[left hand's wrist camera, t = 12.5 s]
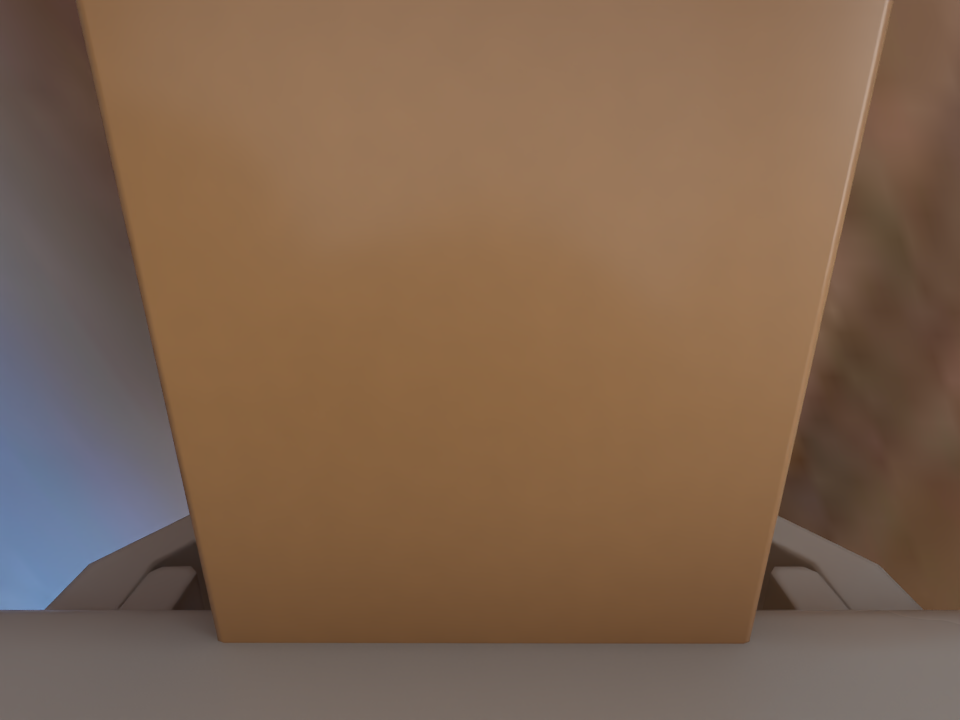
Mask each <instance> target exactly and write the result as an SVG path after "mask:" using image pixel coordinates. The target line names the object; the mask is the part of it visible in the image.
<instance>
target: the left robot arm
mask: <svg viewBox="0 0 960 720" xmlns="http://www.w3.org/2000/svg"><path fill="white" fill-rule="evenodd" d="M0 720H960V610H923V609H922V608H921V607H920V606H919V605H918V604H917V603H916V602H915V601H914V600H913V599H912V598H911V597H910V596H909V595H908V594H907V593H906V592H905V591H904V590H903V589H902V588H901V587H900V586H899V585H898V584H897V583H896V582H895V581H894V580H893V579H892V578H891V577H890V576H889V575H888V574H887V573H886V572H885V571H884V570H883V569H882V568H881V567H880V566H879V565H878V564H876V563H874V562H872V561H870V560H868V559H865V558H863V557H861V556H859V555H857V554H855V553H853V552H851V551H849V550H847V549H845V548H843V547H841V546H839V545H837V544H835V543H833V542H831V541H829V540H827V539H825V538H822V537H820V536H818V535H816V534H814V533H812V532H810V531H808V530H806V529H804V528H802V527H800V526H798V525H796V524H794V523H792V522H790V521H788V520H786V519H784V518H781V517H779V516H778V517H777V521H776V525H775V530H774V534H773V539H772V543H771V548H770V552H769V557H768V561H767V565H766V570H765V574H764V579H763V583H762V588H761V592H760V597H759V601H758V606H757V610H756V614H755V619H754V623H753V628H752V632H751V637H750V641H749V642H747V643H744V644H571V643H223V642H220V641H218V638H217V634H216V629H215V625H214V620H213V616H212V611H211V607H210V602H209V598H208V593H207V589H206V584H205V580H204V575H203V571H202V566H201V562H200V557H199V553H198V549H197V544H196V540H195V535H194V531H193V526H192V522H191V517H190V515H188V516H186V517H184V518H182V519H180V520H178V521H176V522H174V523H172V524H170V525H168V526H166V527H164V528H162V529H160V530H158V531H156V532H154V533H152V534H150V535H148V536H146V537H144V538H142V539H140V540H137V541H135V542H133V543H131V544H129V545H127V546H125V547H123V548H121V549H119V550H117V551H115V552H113V553H111V554H109V555H107V556H105V557H103V558H101V559H99V560H97V561H95V562H93V563H91V564H89V565H88V566H87V567H86V568H85V569H84V570H83V571H82V572H81V573H80V574H79V575H78V576H77V577H76V578H75V579H74V580H73V581H72V582H71V583H70V584H69V585H68V586H67V587H66V588H65V589H64V590H63V591H62V592H61V593H60V594H59V595H58V597H57V598H56V599H55V600H54V601H53V602H52V603H51V604H50V605H49V606H48V607H47V608H46V609H45V610H0Z"/></svg>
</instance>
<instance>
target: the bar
mask: <svg viewBox="0 0 960 720" xmlns="http://www.w3.org/2000/svg"><path fill="white" fill-rule="evenodd" d="M75 1H76V6H77V10H78V15H79V19H80V24H81V28H82V32H83V37H84V41H85V46H86V50H87V55H88V59H89V64H90V68H91V73H92V77H93V82H94V86H95V91H96V95H97V100H98V104H99V109H100V113H101V118H102V122H103V127H104V131H105V136H106V140H107V145H108V149H109V154H110V158H111V163H112V167H113V172H114V176H115V181H116V185H117V190H118V194H119V199H120V203H121V207H122V212H123V216H124V221H125V225H126V230H127V234H128V239H129V243H130V248H131V252H132V257H133V261H134V266H135V270H136V275H137V279H138V284H139V288H140V293H141V297H142V302H143V306H144V311H145V315H146V320H147V324H148V329H149V333H150V338H151V342H152V347H153V351H154V356H155V360H156V365H157V369H158V374H159V378H160V382H161V387H162V391H163V396H164V400H165V405H166V409H167V414H168V418H169V423H170V427H171V432H172V436H173V441H174V445H175V450H176V454H177V459H178V463H179V468H180V472H181V477H182V481H183V486H184V490H185V495H186V499H187V504H188V508H189V513H190V517H191V522H192V526H193V531H194V535H195V540H196V544H197V549H198V553H199V557H200V562H201V566H202V571H203V575H204V580H205V584H206V589H207V593H208V598H209V602H210V607H211V611H212V616H213V620H214V625H215V629H216V634H217V638H218V641H220V642H223V643H571V644H744V643H747V642H749V641H750V637H751V632H752V628H753V623H754V619H755V614H756V610H757V606H758V601H759V597H760V592H761V588H762V583H763V579H764V574H765V570H766V565H767V561H768V557H769V552H770V548H771V543H772V539H773V534H774V530H775V525H776V521H777V517H778V512H779V508H780V503H781V499H782V494H783V490H784V485H785V481H786V476H787V472H788V468H789V463H790V459H791V454H792V450H793V445H794V441H795V436H796V432H797V428H798V423H799V419H800V414H801V410H802V405H803V401H804V396H805V392H806V387H807V383H808V379H809V374H810V370H811V365H812V361H813V356H814V352H815V347H816V343H817V339H818V334H819V330H820V325H821V321H822V316H823V312H824V307H825V303H826V298H827V294H828V290H829V285H830V281H831V276H832V272H833V267H834V263H835V258H836V254H837V250H838V245H839V241H840V236H841V232H842V227H843V223H844V218H845V214H846V209H847V205H848V201H849V196H850V192H851V187H852V183H853V178H854V174H855V169H856V165H857V161H858V156H859V152H860V147H861V143H862V138H863V134H864V129H865V125H866V120H867V116H868V112H869V107H870V103H871V98H872V94H873V89H874V85H875V80H876V76H877V72H878V67H879V63H880V58H881V54H882V49H883V45H884V40H885V36H886V31H887V27H888V23H889V18H890V14H891V9H892V5H893V0H75Z"/></svg>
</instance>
